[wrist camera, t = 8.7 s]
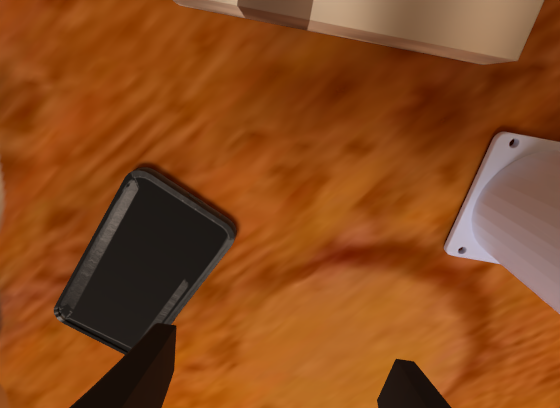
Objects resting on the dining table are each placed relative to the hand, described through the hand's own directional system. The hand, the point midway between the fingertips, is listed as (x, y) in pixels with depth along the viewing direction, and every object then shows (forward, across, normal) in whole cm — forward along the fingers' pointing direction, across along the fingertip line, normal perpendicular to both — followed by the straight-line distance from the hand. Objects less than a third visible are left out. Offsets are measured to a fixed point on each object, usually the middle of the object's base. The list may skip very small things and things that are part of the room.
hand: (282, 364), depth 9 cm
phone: (+11, +10, +6) cm, 16 cm away
